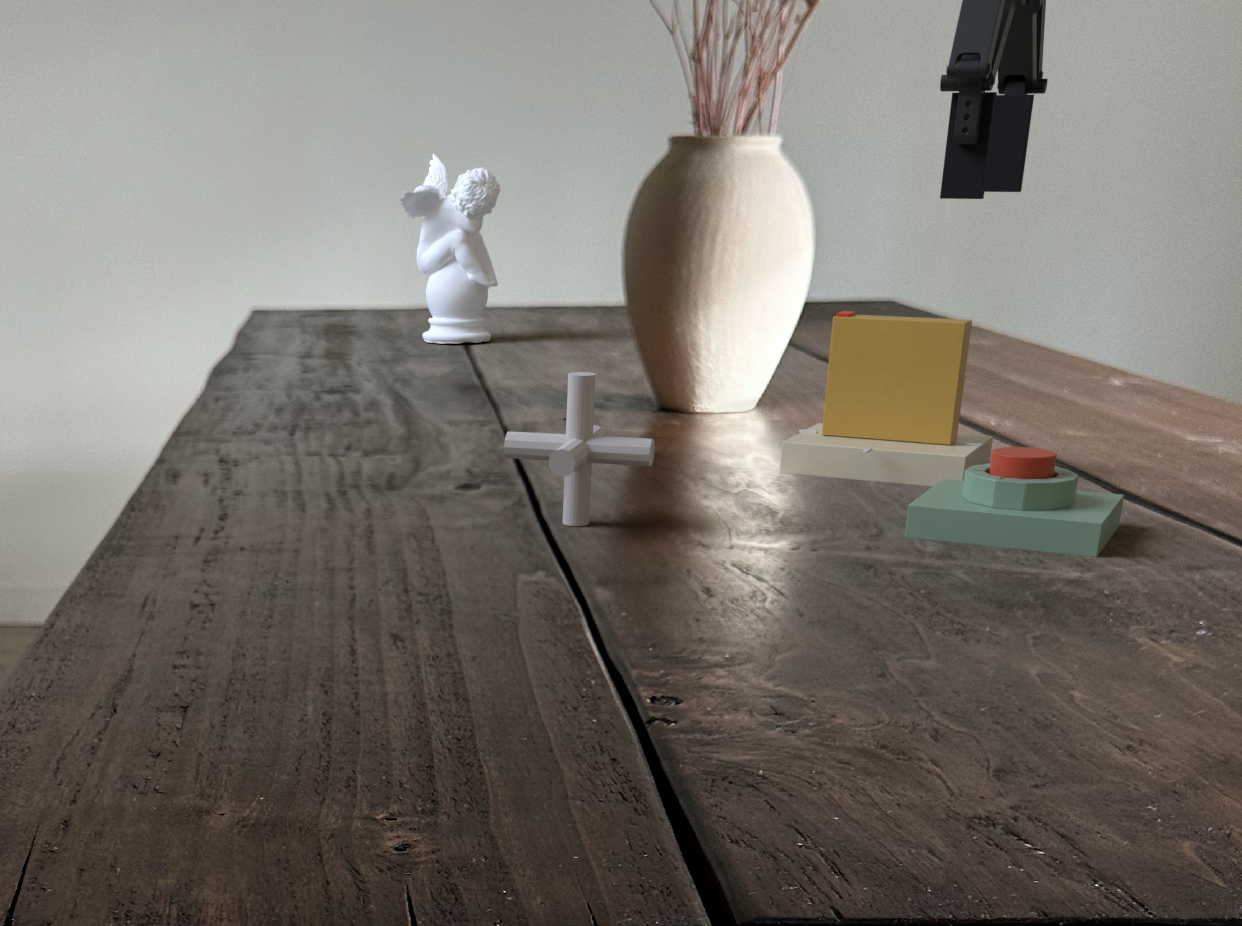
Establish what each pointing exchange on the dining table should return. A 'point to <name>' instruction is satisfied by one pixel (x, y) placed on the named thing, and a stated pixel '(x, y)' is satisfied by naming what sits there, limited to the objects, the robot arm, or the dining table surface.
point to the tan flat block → (896, 377)
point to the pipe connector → (578, 448)
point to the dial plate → (882, 458)
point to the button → (1023, 463)
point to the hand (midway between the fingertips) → (982, 195)
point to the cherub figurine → (454, 251)
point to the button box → (1016, 513)
